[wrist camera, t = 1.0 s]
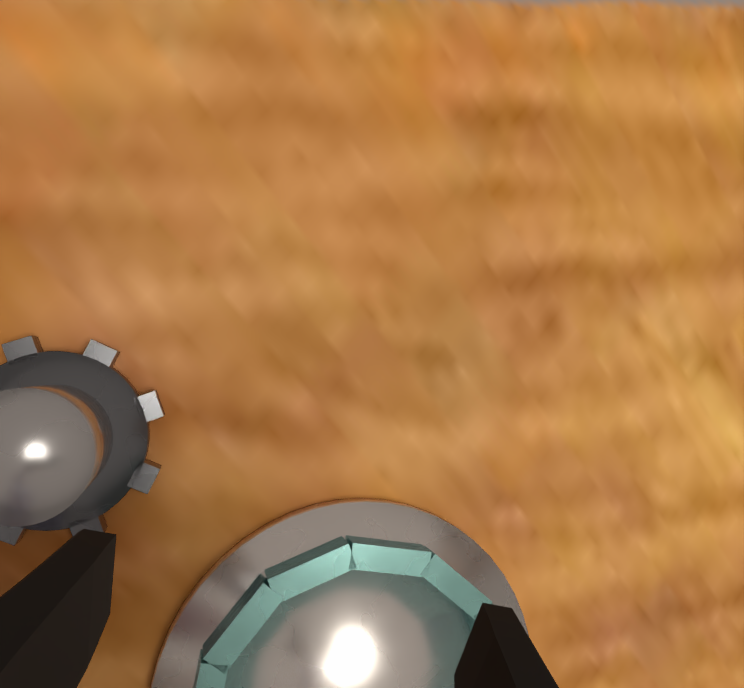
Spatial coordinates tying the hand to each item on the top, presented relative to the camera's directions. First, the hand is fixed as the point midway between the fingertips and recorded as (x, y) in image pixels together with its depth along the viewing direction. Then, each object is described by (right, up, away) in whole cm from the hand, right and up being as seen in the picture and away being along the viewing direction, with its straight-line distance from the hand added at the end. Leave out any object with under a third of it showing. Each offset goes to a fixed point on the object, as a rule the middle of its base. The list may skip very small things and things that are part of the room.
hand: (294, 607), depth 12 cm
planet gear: (-10, +2, +11) cm, 15 cm away
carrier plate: (+1, -9, +14) cm, 17 cm away
